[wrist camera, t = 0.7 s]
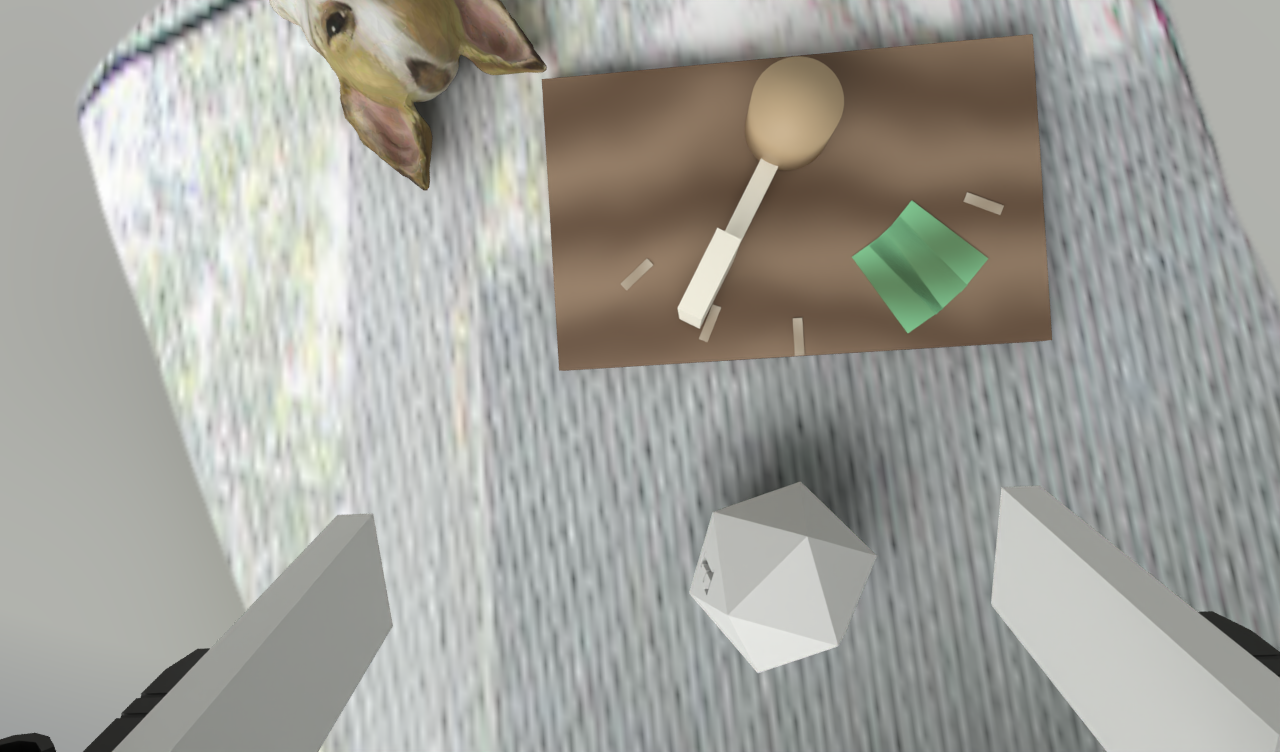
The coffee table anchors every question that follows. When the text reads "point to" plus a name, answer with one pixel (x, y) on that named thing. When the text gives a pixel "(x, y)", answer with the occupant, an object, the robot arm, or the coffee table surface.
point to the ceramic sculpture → (406, 62)
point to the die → (781, 576)
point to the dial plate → (801, 210)
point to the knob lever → (770, 158)
